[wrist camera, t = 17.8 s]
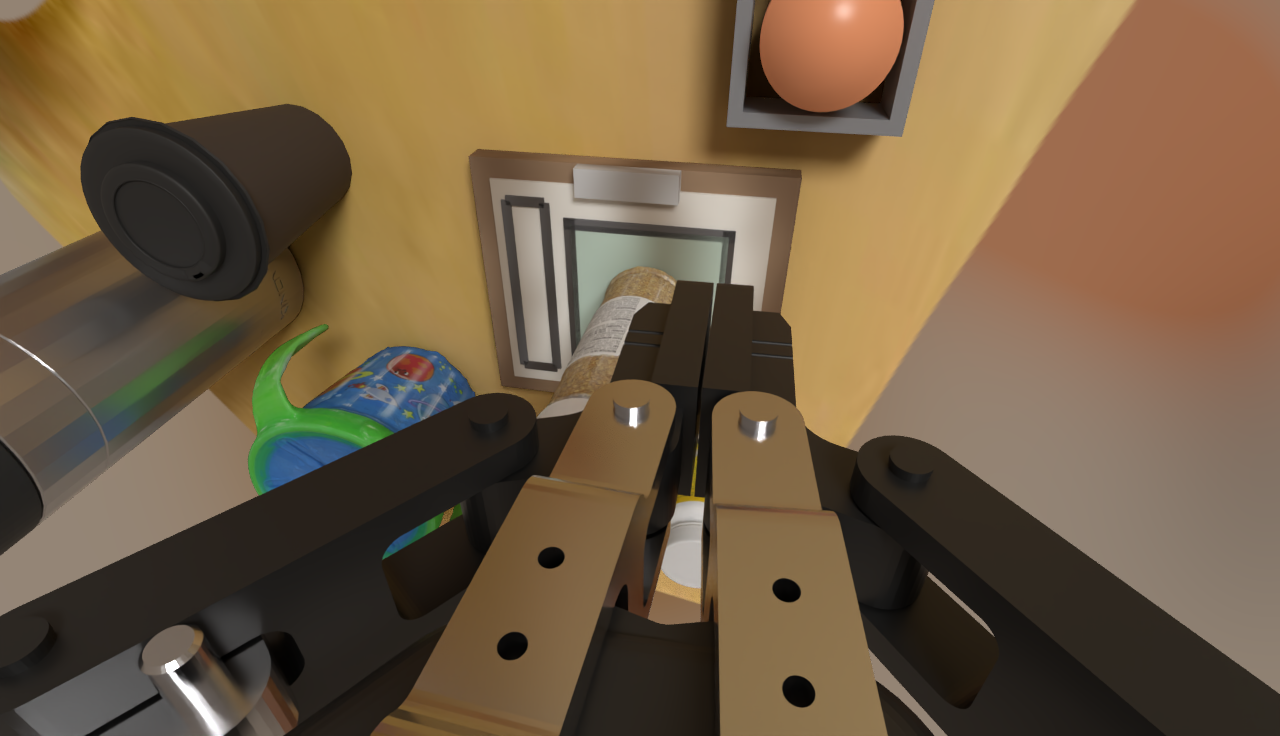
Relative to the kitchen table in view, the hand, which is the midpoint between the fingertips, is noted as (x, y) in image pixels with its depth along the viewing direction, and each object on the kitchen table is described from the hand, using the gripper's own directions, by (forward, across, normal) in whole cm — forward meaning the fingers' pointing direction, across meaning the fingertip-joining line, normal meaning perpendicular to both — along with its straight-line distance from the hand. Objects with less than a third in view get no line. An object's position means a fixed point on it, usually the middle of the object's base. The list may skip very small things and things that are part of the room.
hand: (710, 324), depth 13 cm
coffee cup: (+20, +23, +4) cm, 31 cm away
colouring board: (+20, +5, +10) cm, 23 cm away
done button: (+19, -3, -3) cm, 20 cm away
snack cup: (+20, +19, +19) cm, 33 cm away
